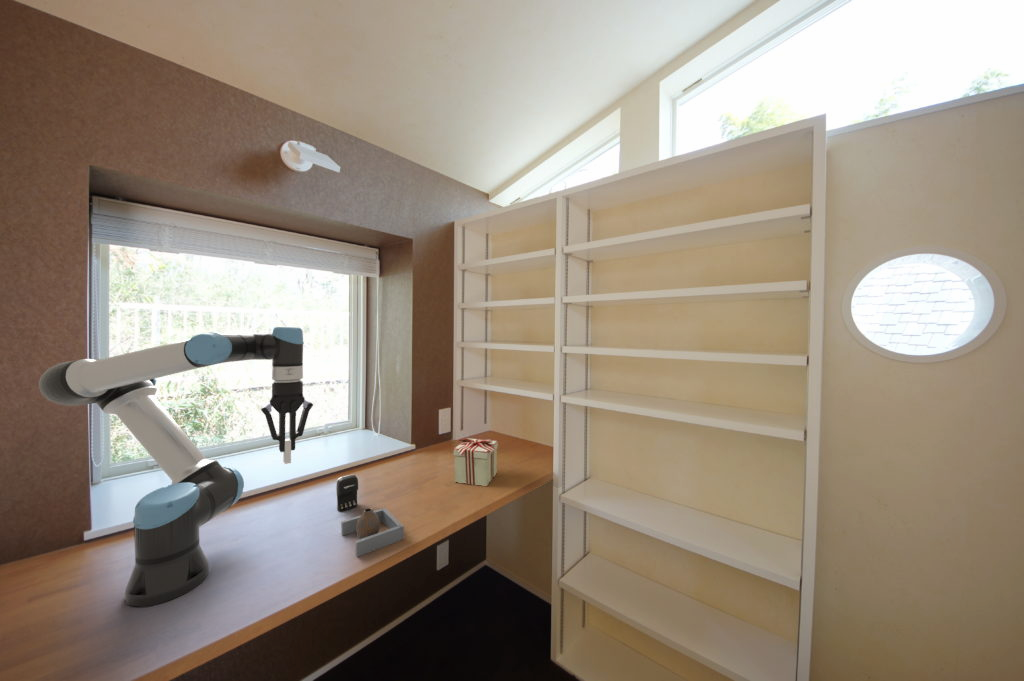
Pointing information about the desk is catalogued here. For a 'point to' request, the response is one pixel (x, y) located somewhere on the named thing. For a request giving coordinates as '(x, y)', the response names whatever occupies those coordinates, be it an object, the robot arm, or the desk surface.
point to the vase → (367, 524)
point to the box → (378, 539)
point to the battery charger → (346, 492)
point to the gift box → (475, 461)
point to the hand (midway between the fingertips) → (287, 462)
